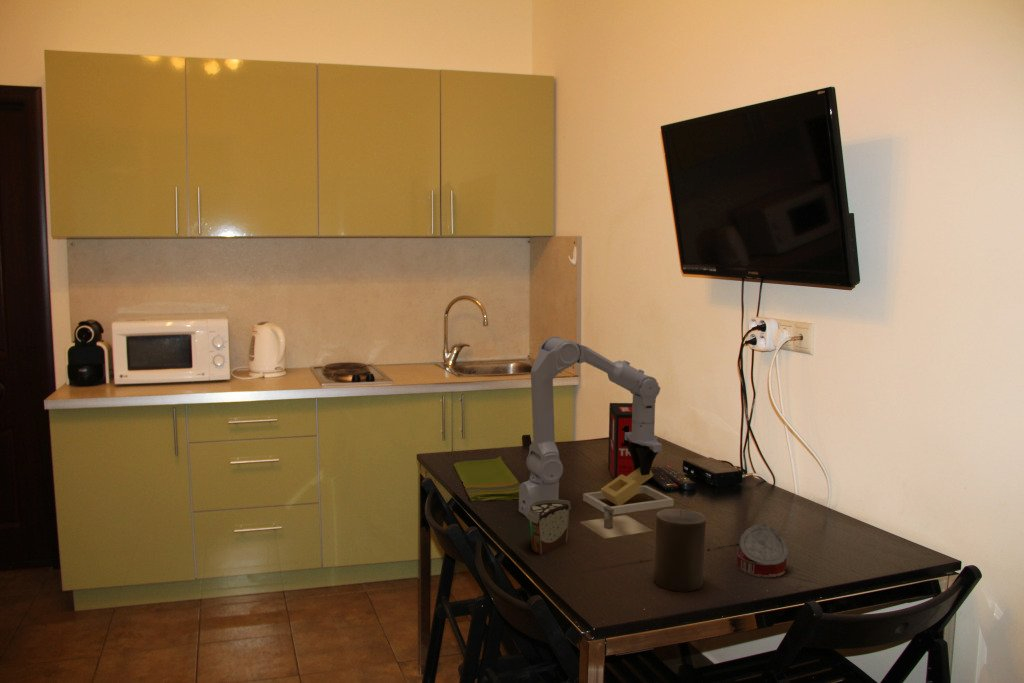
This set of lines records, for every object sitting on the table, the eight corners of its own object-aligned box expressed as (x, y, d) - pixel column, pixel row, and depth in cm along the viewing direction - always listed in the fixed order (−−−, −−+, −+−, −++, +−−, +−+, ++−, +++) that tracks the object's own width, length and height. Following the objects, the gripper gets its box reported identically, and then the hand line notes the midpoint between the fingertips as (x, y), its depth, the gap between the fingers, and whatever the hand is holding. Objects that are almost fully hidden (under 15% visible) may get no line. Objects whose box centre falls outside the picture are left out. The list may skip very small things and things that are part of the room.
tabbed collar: (619, 506, 208) (614, 496, 208) (605, 498, 215) (600, 489, 214) (658, 478, 212) (654, 468, 211) (643, 471, 219) (639, 461, 218)
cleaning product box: (608, 468, 248) (609, 402, 246) (637, 469, 248) (639, 403, 246) (615, 485, 232) (616, 414, 229) (647, 485, 232) (649, 414, 229)
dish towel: (470, 504, 215) (470, 492, 215) (452, 467, 250) (452, 457, 250) (528, 501, 219) (528, 489, 218) (502, 465, 253) (502, 455, 253)
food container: (548, 537, 191) (549, 495, 190) (570, 543, 187) (571, 500, 186) (514, 552, 181) (514, 508, 180) (536, 559, 177) (537, 514, 176)
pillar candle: (679, 596, 160) (683, 520, 158) (643, 579, 167) (646, 506, 166) (713, 585, 165) (717, 511, 164) (676, 568, 173) (680, 499, 171)
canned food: (781, 587, 176) (807, 551, 172) (760, 597, 168) (787, 560, 165) (740, 550, 182) (763, 515, 179) (718, 558, 175) (742, 522, 171)
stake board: (604, 541, 188) (605, 518, 187) (579, 525, 199) (579, 502, 198) (653, 533, 193) (653, 511, 193) (625, 518, 204) (626, 496, 204)
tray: (608, 518, 204) (608, 508, 204) (582, 502, 216) (583, 493, 215) (673, 508, 212) (673, 499, 211) (645, 494, 223) (645, 485, 223)
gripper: (672, 425, 208) (671, 478, 209) (641, 414, 221) (639, 464, 223) (648, 428, 205) (647, 481, 207) (618, 416, 218) (617, 467, 220)
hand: (641, 473), depth 214 cm, fingers closed on tabbed collar, 2 cm apart
